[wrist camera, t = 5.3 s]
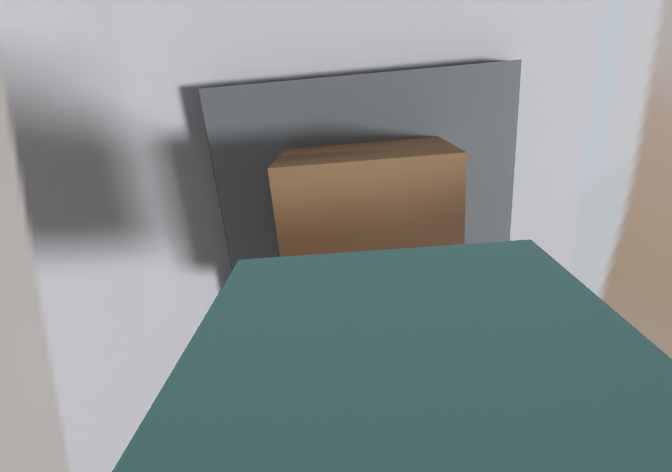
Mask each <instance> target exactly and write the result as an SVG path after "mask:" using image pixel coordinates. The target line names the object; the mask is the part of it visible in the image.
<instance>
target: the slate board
mask: <svg viewBox="0 0 672 472" xmlns="http://www.w3.org/2000/svg"><path fill="white" fill-rule="evenodd" d="M520 74H521V60H510V61H499V62H488V63H477V64H466V65H455V66H444V67H433V68H422V69H410V70H399V71H388V72H377V73H366V74H355V75H344V76H333V77H322V78H310V79H299V80H288V81H277V82H266V83H255V84H244V85H233V86H222V87H210V88H199V89H198V90H199V95H200V100H201V106H202V111H203V116H204V122H205V127H206V132H207V138H208V143H209V148H210V154H211V159H212V165H213V170H214V175H215V181H216V186H217V191H218V197H219V202H220V207H221V213H222V218H223V223H224V229H225V234H226V239H227V245H228V250H229V255H230V261H231V266H232V270H233V269H234V267H235V265H236V264H237V262H238V260H243V259H257V258H272V257H280V253H279V246H278V239H277V232H276V225H275V218H274V210H273V203H272V196H271V189H270V182H269V175H268V167H269V166H270V165H271V164H272V163H273V162H274V161H275V160H276V158H277V157H278V156H279V155H280V154H281V153H282V152H283V151H284V150H285V149H289V148H301V147H313V146H326V145H338V144H350V143H362V142H374V141H386V140H399V139H411V138H423V137H435V136H439V137H440V138H442V139H444V140H446V141H448V142H449V143H451V144H453V145H455V146H456V147H458V148H460V149H462V150H464V151H465V152H467V166H466V206H465V244H475V243H489V242H504V241H510V226H511V211H512V195H513V180H514V165H515V150H516V134H517V119H518V104H519V89H520Z"/></svg>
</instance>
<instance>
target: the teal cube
mask: <svg viewBox="0 0 672 472" xmlns="http://www.w3.org/2000/svg"><path fill="white" fill-rule="evenodd" d="M112 472H672V359H671V358H669V356H667V355H666V354H665V353H664V352H662V351H661V350H660V349H659V348H658V347H657V346H656V345H654V344H653V343H652V342H651V341H650V340H648V339H647V338H646V337H645V336H643V335H642V334H641V333H640V332H639V331H638V330H636V329H635V328H634V327H633V326H632V325H631V324H630V323H628V322H627V321H626V320H625V319H624V318H623V317H621V316H620V315H619V314H618V313H617V312H615V311H614V310H613V309H612V308H610V306H608V305H607V304H606V303H605V302H604V301H602V300H601V299H600V298H599V297H598V296H597V295H595V294H594V293H593V292H592V291H591V290H590V289H588V288H587V287H586V286H585V285H584V284H582V283H581V282H580V281H579V280H578V279H577V278H575V277H574V276H573V275H572V274H571V273H569V272H568V271H567V270H566V269H565V268H564V267H562V266H561V265H560V264H559V263H558V262H556V261H555V260H554V259H553V258H552V257H551V256H549V255H548V254H547V253H546V252H545V251H544V250H542V249H541V248H540V247H539V246H538V245H536V244H535V243H534V242H533V241H532V240H518V241H504V242H489V243H475V244H460V245H446V246H431V247H417V248H402V249H388V250H373V251H359V252H344V253H330V254H315V255H301V256H286V257H272V258H257V259H243V260H238V262H237V264H236V265H235V267H234V269H233V270H232V272H231V274H230V275H229V277H228V279H227V280H226V282H225V284H224V285H223V287H222V289H221V291H220V292H219V294H218V296H217V297H216V299H215V301H214V302H213V304H212V306H211V307H210V309H209V311H208V312H207V314H206V316H205V317H204V319H203V321H202V322H201V324H200V326H199V327H198V329H197V331H196V332H195V334H194V336H193V337H192V339H191V341H190V342H189V344H188V346H187V347H186V349H185V351H184V352H183V354H182V356H181V357H180V359H179V361H178V363H177V364H176V366H175V368H174V369H173V371H172V373H171V374H170V376H169V378H168V379H167V381H166V383H165V384H164V386H163V388H162V389H161V391H160V393H159V394H158V396H157V398H156V399H155V401H154V403H153V404H152V406H151V408H150V409H149V411H148V413H147V414H146V416H145V418H144V419H143V421H142V423H141V424H140V426H139V428H138V429H137V431H136V433H135V435H134V436H133V438H132V440H131V441H130V443H129V445H128V446H127V448H126V450H125V451H124V453H123V455H122V456H121V458H120V460H119V461H118V463H117V465H116V466H115V468H114V470H113V471H112Z"/></svg>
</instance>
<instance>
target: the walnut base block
mask: <svg viewBox="0 0 672 472" xmlns="http://www.w3.org/2000/svg"><path fill="white" fill-rule="evenodd" d="M466 166H467V152H465V151H464V150H462V149H460V148H458V147H456V146H455V145H453V144H451V143H449V142H448V141H446V140H444V139H442V138H440V137H439V136H435V137H423V138H411V139H399V140H386V141H374V142H362V143H350V144H338V145H326V146H313V147H301V148H289V149H285V150H284V151H283V152H282V153H281V154H280V155H279V156H278V157H277V158H276V160H275V161H274V162H273V163H272V164H271V165H270V166H269V167H268V175H269V182H270V189H271V196H272V203H273V210H274V218H275V225H276V232H277V239H278V246H279V253H280V257H286V256H301V255H315V254H330V253H344V252H359V251H373V250H388V249H402V248H417V247H431V246H446V245H460V244H465V206H466Z"/></svg>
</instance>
